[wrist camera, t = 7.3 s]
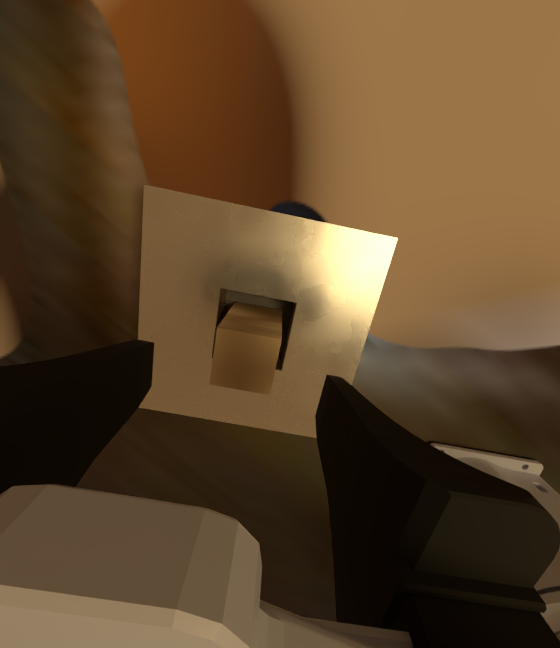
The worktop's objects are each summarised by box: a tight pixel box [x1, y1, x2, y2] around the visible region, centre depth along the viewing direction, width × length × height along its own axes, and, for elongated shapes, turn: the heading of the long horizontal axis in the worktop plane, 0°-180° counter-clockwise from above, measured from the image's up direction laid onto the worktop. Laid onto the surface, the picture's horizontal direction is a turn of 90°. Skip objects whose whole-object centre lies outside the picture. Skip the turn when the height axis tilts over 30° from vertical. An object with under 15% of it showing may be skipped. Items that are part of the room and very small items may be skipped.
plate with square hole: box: [138, 185, 398, 438], centre depth 18 cm, size 14×14×2 cm
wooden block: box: [209, 301, 282, 395], centre depth 16 cm, size 3×3×6 cm
